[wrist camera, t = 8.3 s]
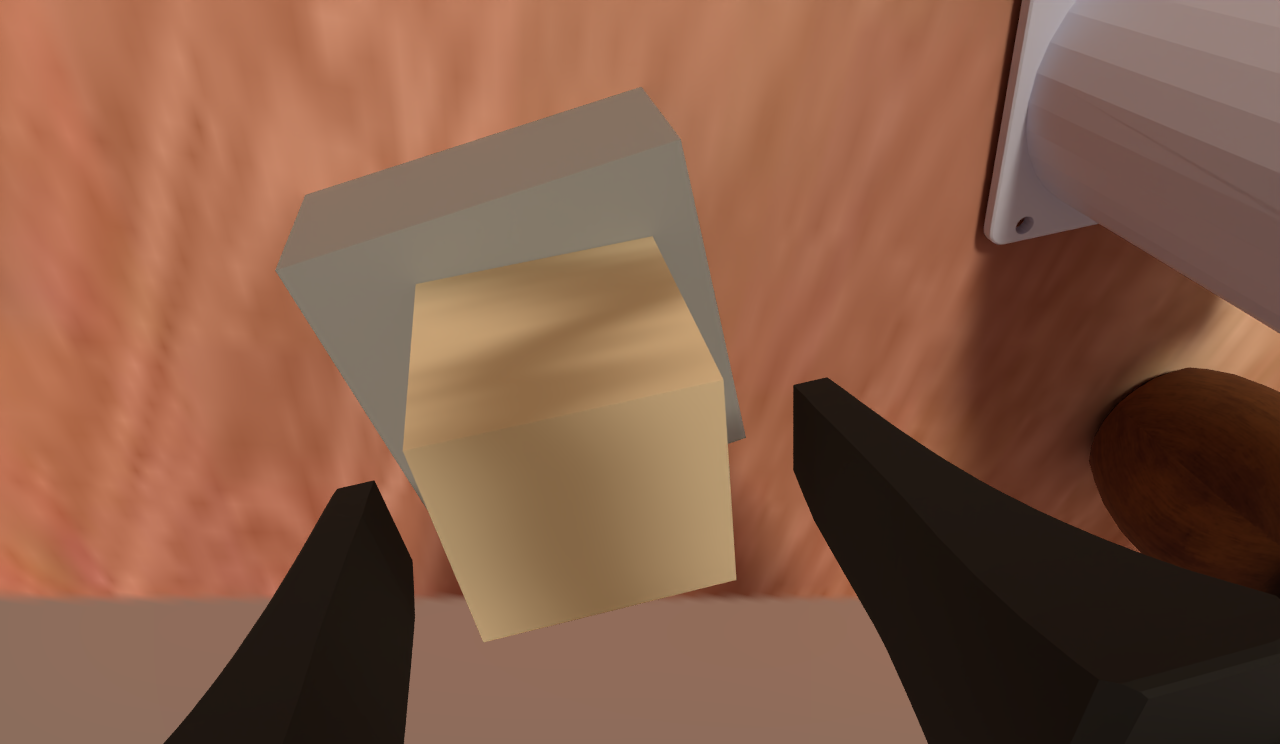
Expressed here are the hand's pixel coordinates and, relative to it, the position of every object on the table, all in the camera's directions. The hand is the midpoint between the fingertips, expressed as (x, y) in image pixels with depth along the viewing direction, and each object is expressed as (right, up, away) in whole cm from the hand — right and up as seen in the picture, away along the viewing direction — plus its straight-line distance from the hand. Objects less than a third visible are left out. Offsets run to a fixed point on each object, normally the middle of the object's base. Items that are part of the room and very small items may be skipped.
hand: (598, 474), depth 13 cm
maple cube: (-1, +2, +4) cm, 4 cm away
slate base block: (-2, +4, +7) cm, 8 cm away
